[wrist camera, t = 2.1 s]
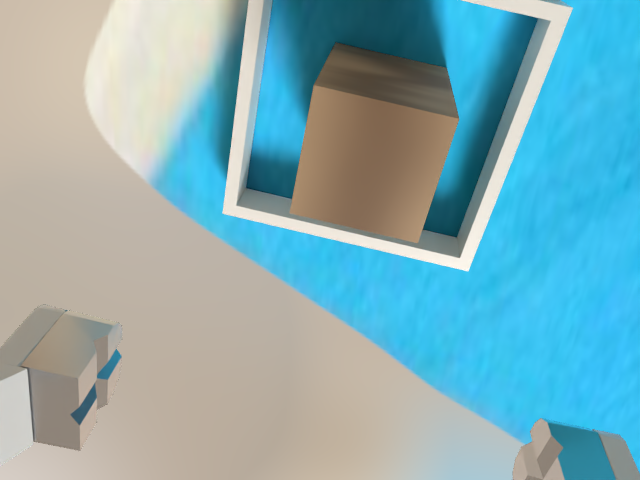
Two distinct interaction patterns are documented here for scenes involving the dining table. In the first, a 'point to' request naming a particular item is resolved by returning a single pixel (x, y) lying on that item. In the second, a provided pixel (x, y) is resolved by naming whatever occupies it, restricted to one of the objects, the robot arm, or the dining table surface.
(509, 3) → the white square frame
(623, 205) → the dining table surface
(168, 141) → the dining table surface
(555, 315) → the dining table surface
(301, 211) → the walnut block
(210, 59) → the dining table surface
